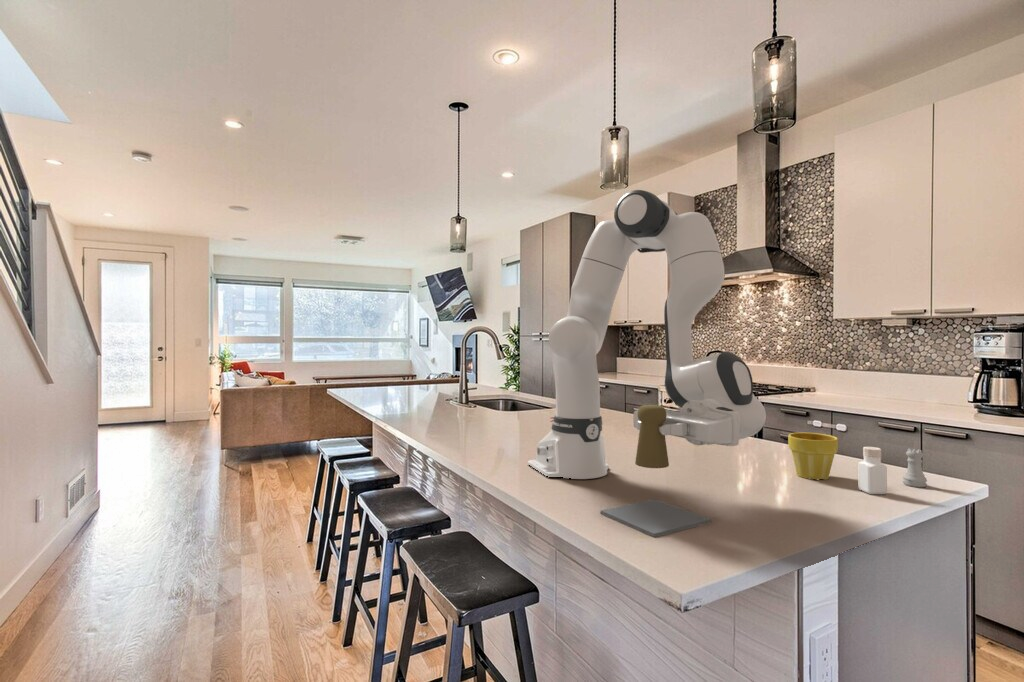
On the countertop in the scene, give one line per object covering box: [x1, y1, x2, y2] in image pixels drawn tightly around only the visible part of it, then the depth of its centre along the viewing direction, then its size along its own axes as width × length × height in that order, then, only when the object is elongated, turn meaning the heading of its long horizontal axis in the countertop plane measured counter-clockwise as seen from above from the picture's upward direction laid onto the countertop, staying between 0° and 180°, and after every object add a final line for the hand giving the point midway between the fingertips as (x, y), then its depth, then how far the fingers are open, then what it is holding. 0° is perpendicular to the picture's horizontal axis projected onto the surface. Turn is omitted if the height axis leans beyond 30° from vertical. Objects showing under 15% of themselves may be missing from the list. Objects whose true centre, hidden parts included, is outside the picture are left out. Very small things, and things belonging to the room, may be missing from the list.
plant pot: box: [787, 431, 839, 480], centre depth 124 cm, size 10×10×10 cm
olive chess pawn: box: [635, 404, 670, 469], centre depth 96 cm, size 6×6×11 cm
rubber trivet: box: [600, 498, 712, 538], centre depth 96 cm, size 14×14×1 cm
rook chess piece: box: [902, 448, 928, 489], centre depth 116 cm, size 4×4×8 cm
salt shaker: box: [857, 446, 888, 495], centre depth 111 cm, size 4×4×10 cm
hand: (649, 427), depth 95 cm, fingers closed on olive chess pawn, 4 cm apart
